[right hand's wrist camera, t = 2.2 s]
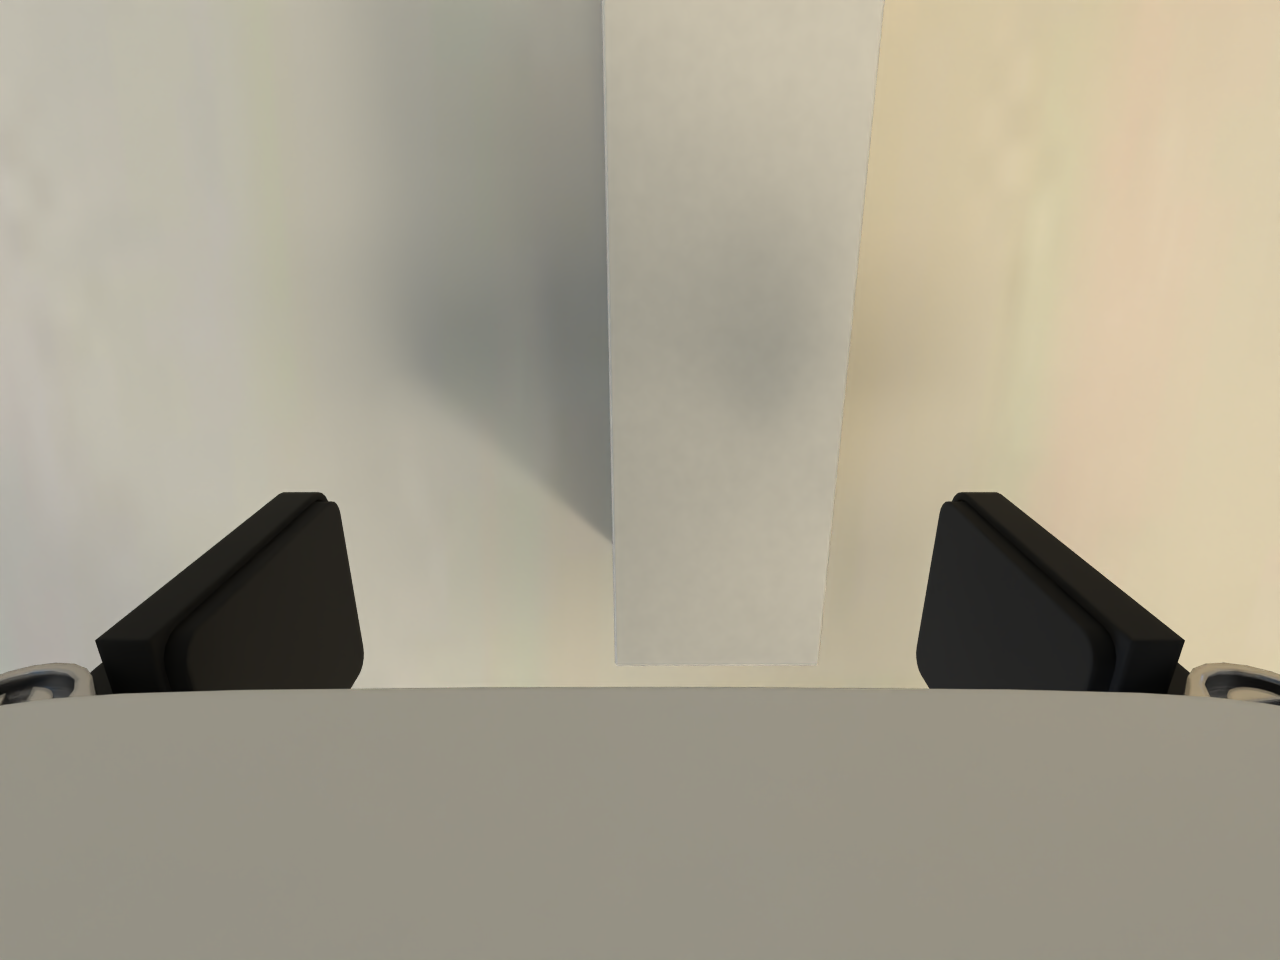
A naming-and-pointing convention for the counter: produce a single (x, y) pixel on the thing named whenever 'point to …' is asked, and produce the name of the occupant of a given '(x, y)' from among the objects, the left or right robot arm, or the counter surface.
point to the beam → (730, 314)
